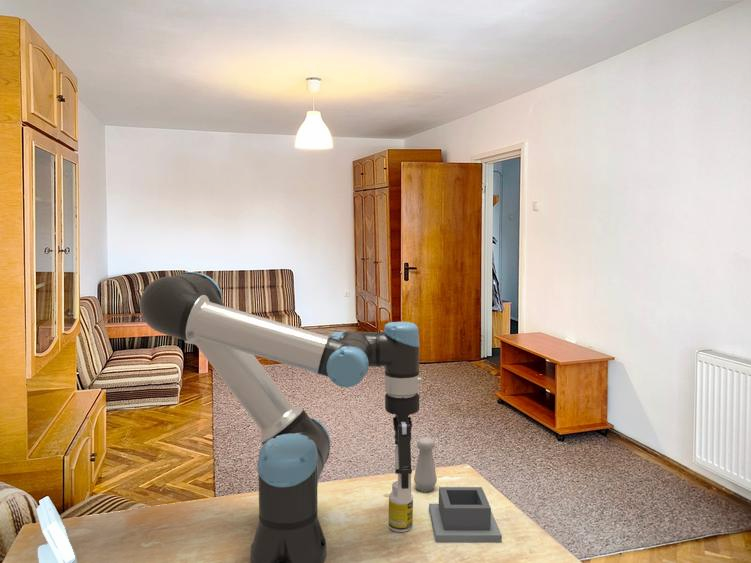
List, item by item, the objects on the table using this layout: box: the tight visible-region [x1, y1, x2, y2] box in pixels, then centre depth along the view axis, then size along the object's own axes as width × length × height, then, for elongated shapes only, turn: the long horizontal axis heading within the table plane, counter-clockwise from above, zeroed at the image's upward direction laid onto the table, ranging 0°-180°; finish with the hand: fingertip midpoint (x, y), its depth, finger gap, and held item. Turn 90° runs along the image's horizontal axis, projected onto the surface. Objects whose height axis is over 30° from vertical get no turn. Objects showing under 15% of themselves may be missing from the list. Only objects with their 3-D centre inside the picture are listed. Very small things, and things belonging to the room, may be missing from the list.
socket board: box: [428, 486, 503, 543], centre depth 127 cm, size 14×14×6 cm
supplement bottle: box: [387, 480, 414, 533], centre depth 126 cm, size 5×5×10 cm
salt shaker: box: [413, 437, 438, 493], centre depth 144 cm, size 6×6×13 cm
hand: (402, 486), depth 125 cm, fingers open, 13 cm apart
